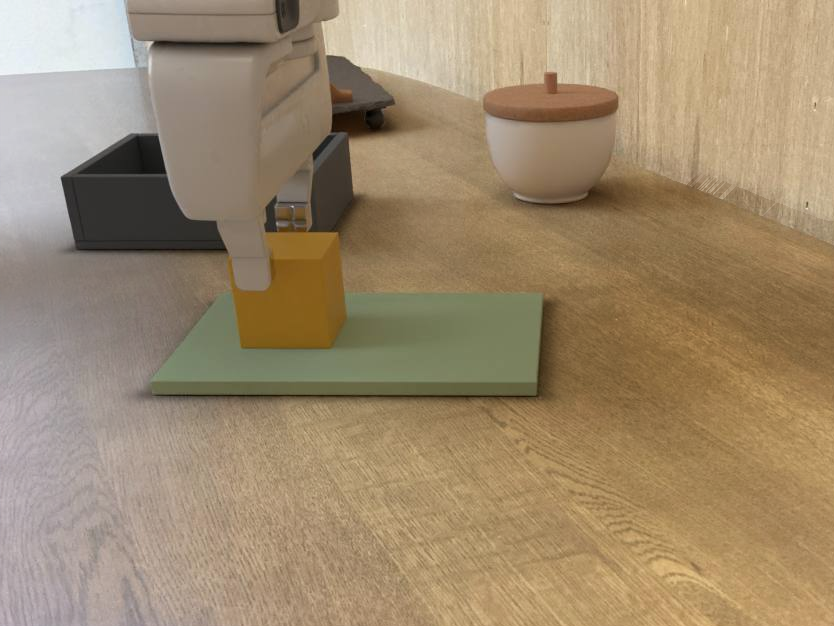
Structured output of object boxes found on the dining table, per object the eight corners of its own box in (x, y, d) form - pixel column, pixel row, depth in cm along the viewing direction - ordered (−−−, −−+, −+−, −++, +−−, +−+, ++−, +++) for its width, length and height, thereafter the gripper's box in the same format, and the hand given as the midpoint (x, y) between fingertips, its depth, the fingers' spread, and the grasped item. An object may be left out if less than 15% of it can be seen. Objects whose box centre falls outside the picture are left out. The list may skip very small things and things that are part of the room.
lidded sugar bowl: (465, 188, 96) (460, 68, 91) (576, 173, 100) (577, 58, 95) (521, 218, 88) (519, 89, 83) (640, 200, 92) (645, 76, 87)
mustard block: (240, 348, 63) (227, 258, 60) (262, 317, 67) (250, 232, 64) (331, 348, 62) (321, 259, 60) (346, 317, 67) (338, 232, 64)
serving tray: (157, 87, 140) (147, 32, 137) (344, 76, 146) (339, 23, 143) (170, 152, 108) (158, 82, 105) (409, 134, 114) (404, 68, 111)
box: (75, 249, 82) (59, 176, 79) (142, 197, 94) (130, 133, 92) (319, 249, 81) (311, 176, 79) (353, 196, 94) (348, 132, 91)
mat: (152, 395, 59) (149, 380, 59) (223, 304, 71) (221, 292, 71) (536, 396, 59) (536, 381, 58) (543, 304, 71) (543, 292, 70)
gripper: (235, -40, 64) (264, 206, 72) (108, 2, 47) (163, 322, 54) (346, -39, 64) (364, 208, 71) (260, 3, 47) (295, 324, 54)
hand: (277, 258), depth 63 cm, fingers open, 8 cm apart
